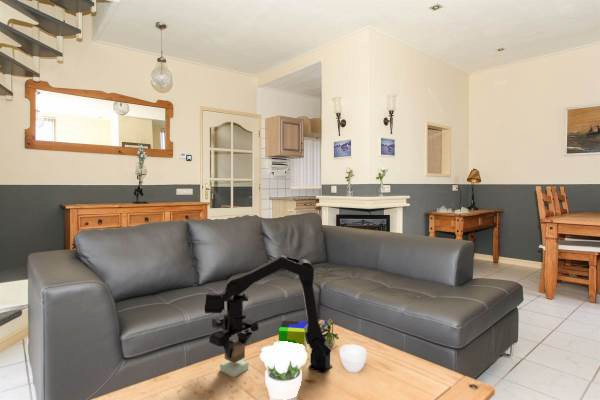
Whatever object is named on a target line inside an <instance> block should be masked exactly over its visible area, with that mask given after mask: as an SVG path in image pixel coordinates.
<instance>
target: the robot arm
mask: <svg viewBox="0 0 600 400" xmlns="http://www.w3.org/2000/svg"><path fill="white" fill-rule="evenodd" d="M282 269H283V270H286V271H288V272H291V273H293V274H296V275H298V279H299V281H300V284H301V286H302V293H303V300H304V306H305V313H306V319H307V326H304V330H305V338H306V345H309V348H310V349H311V352H310V358H309V359H310V361H309V362H310V363H309V365H308V368H309V369H311V370H314V371H316V372H319V373H321V374H324V373H326V371H328V370H329V369H331V368H332V367H333V364H331V351H332V350H331V348H330V344H328V342H327V340H326V339H325V338H324V337H323V334H324V333H323V334H322V331H321V329H320V326H319V325H320V323H319V322H318V320H319V317H318V311H317V304H316V298H315V292H314V280H315V279H314V277H315V276H314V274H315V273H314V272H315V270H314V266H313V265H312V263H311V261H310V260H308V259H306V258H301V259H298V258H295V257H290V256H286V255H284V254H281V255H279V256H277V257H276V258H273V259H272V260H269V261H268V262H266V263H264V264H262V265H260V266H258V267H256V268H254V269H252V270H250V271H247V272H242V273H238V274H235V275H232V276H230V277H229V279H228V281H227V283H226V287H225V288H224V289H223V291H222V293H211V292H207V293H206V295H205V302H204V303H205V304H204V313H205V314H222V313H223V311H225V310H226V314H224V316H223V317H214V318H212V319H211V326H212V328H214V329H217V330H218V331H216V332H213V333H211V334H210V335H209V337H208V339H209V340H208V341H209V342H208V343H210V344H213V345H215V346H217V347H223V349H224V353H225V352H226V355H227V357H228V358H229V359H230V358H231V355H232V350H233V344H234V342H233V341H234V340H232V337H234V336H236V335H237V341H238V342H241V343H243V344H245V346H246V344H247V343H248V340H249V339H250V338H251V336H252V335H253V332H256V331H258V330H259V324H258V322H257V321H255V320H252V319H250V318H249V319H248V318H247V319H246V314H244V302H248V301H249V295H248V294H246V292H245V291H247V289H249V288H250V287H251V286H252V285H253V284H254V283H256V282H259V281H261V280H262V279H265V278H267V277H268V276H270V275H272V274H274V273H276V272H279V271H280V270H282ZM244 319H245V320H244ZM219 329H222V330H223V331H226V332H223V331H221V330H219Z"/></svg>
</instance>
